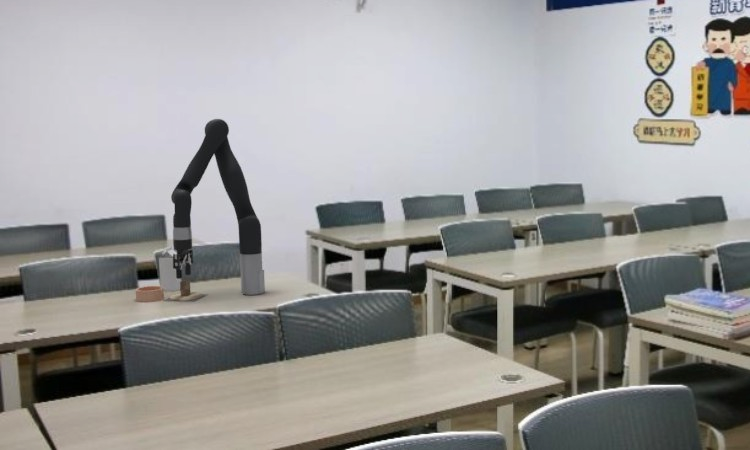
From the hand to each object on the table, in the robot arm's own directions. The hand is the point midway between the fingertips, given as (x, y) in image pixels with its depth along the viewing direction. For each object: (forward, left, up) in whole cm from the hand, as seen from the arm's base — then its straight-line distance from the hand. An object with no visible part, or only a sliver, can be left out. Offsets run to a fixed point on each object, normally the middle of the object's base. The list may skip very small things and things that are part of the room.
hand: (183, 276), depth 341 cm
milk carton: (+14, -16, -10) cm, 23 cm away
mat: (0, 0, -9) cm, 9 cm away
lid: (0, 0, -9) cm, 9 cm away
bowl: (+14, +4, -9) cm, 17 cm away
